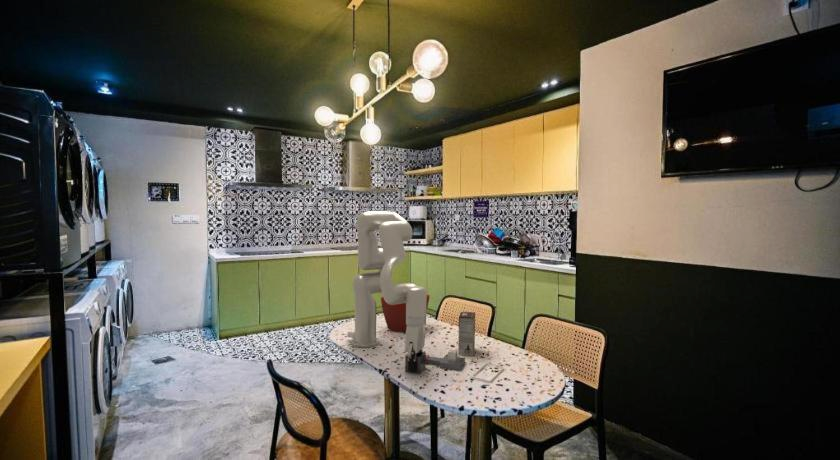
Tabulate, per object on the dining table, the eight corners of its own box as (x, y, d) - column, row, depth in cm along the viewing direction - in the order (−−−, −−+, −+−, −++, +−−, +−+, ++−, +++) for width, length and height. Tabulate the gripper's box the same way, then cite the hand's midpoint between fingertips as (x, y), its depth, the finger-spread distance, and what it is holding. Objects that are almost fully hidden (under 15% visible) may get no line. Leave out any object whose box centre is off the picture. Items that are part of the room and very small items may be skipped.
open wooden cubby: (405, 371, 144) (405, 355, 144) (410, 365, 150) (410, 350, 150) (420, 373, 142) (420, 357, 142) (425, 367, 148) (425, 352, 148)
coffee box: (460, 347, 171) (460, 311, 171) (474, 348, 170) (475, 312, 170) (457, 354, 162) (458, 316, 162) (473, 356, 161) (474, 317, 161)
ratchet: (405, 362, 153) (405, 348, 153) (412, 356, 160) (412, 342, 160) (460, 370, 146) (460, 355, 146) (464, 363, 153) (465, 349, 153)
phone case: (490, 384, 135) (504, 370, 148) (490, 380, 135) (504, 366, 148) (470, 379, 139) (485, 366, 152) (470, 375, 139) (485, 362, 152)
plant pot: (430, 326, 203) (430, 294, 203) (414, 336, 186) (415, 301, 185) (397, 322, 211) (397, 291, 211) (379, 331, 194) (379, 297, 193)
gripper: (414, 313, 155) (413, 358, 155) (398, 325, 138) (397, 375, 139) (432, 315, 152) (431, 361, 153) (418, 327, 136) (417, 378, 137)
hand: (415, 367), depth 146 cm, fingers closed on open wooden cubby, 6 cm apart
